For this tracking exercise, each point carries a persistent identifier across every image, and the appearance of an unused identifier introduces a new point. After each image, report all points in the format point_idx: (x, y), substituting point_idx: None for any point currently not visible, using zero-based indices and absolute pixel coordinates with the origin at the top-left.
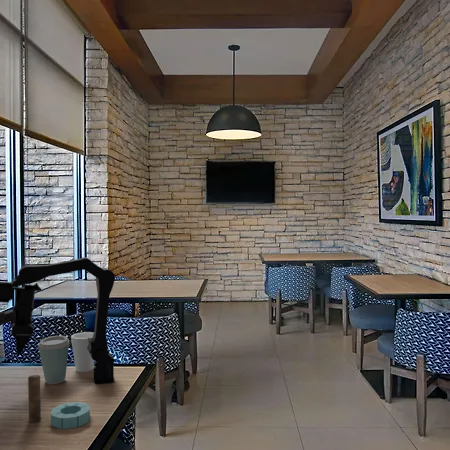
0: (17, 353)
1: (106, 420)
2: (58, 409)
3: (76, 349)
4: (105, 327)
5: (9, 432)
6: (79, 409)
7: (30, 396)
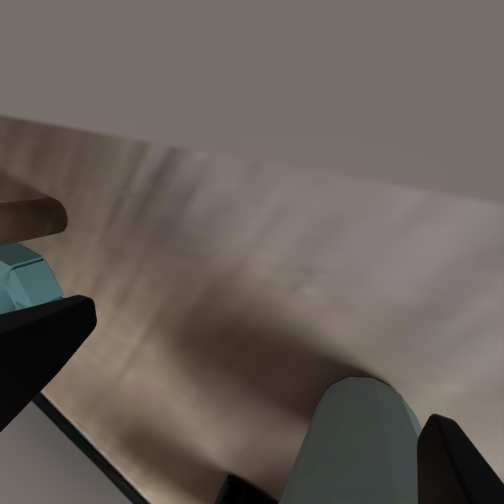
0: (69, 301)
1: None
2: (4, 279)
3: None
4: None
5: (6, 130)
6: None
7: None
